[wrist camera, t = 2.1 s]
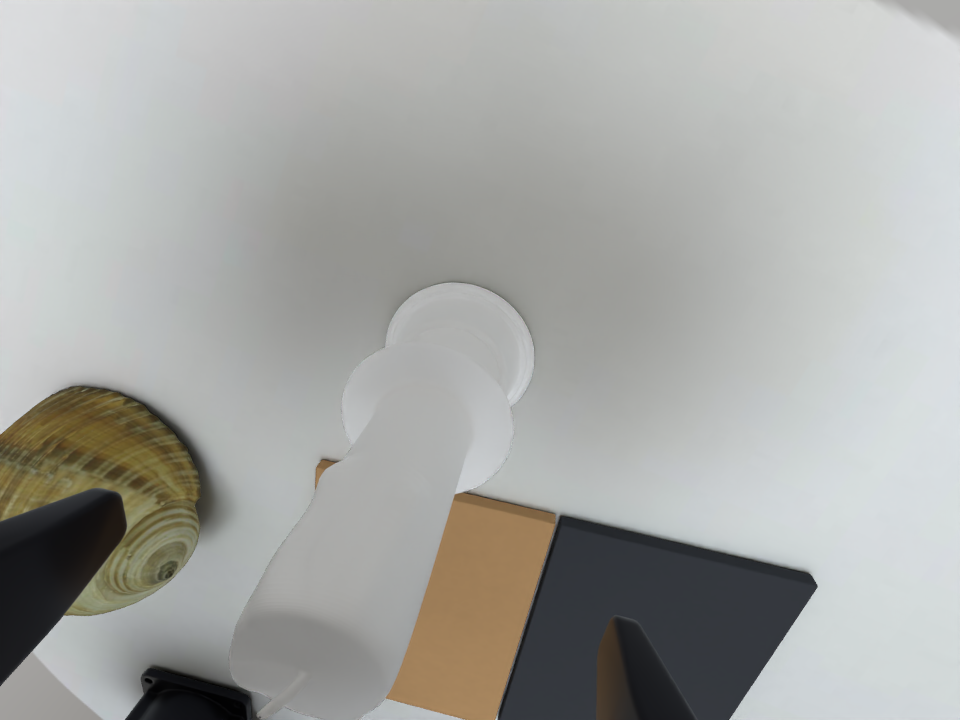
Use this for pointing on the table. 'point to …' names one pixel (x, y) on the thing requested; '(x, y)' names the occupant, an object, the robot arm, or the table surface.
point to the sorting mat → (583, 615)
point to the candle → (385, 505)
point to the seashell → (107, 485)
